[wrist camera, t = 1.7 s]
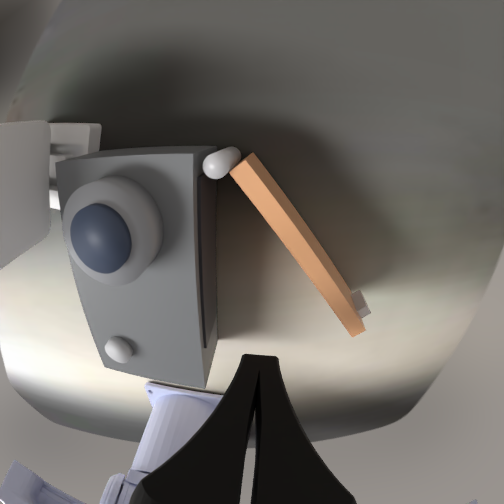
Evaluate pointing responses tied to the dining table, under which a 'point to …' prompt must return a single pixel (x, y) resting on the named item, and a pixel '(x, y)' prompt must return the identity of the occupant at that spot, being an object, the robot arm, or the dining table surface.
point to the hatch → (291, 232)
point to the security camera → (35, 177)
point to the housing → (145, 257)
